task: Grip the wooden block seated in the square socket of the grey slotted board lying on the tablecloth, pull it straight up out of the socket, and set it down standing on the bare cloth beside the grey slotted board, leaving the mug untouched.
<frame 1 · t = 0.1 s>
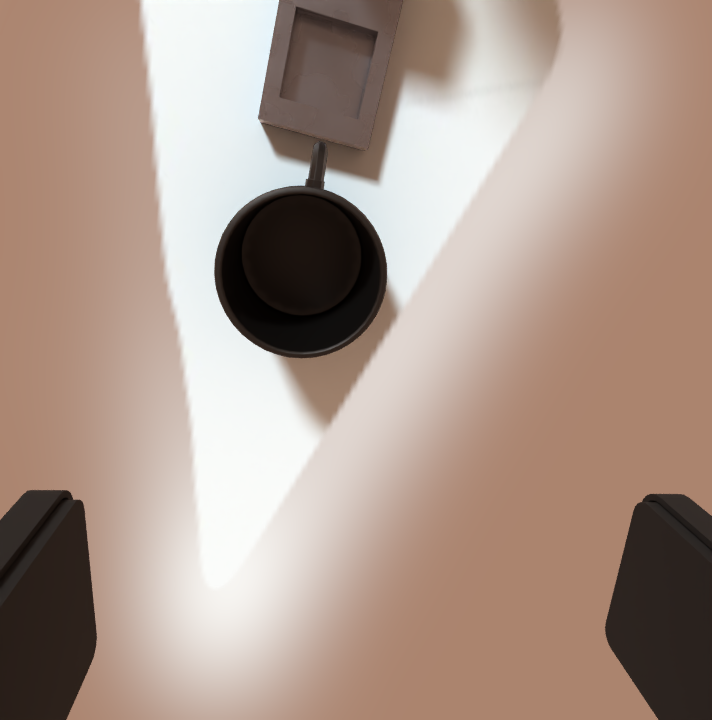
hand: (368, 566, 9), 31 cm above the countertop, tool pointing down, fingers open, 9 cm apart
mug: (305, 237, 38), on the countertop
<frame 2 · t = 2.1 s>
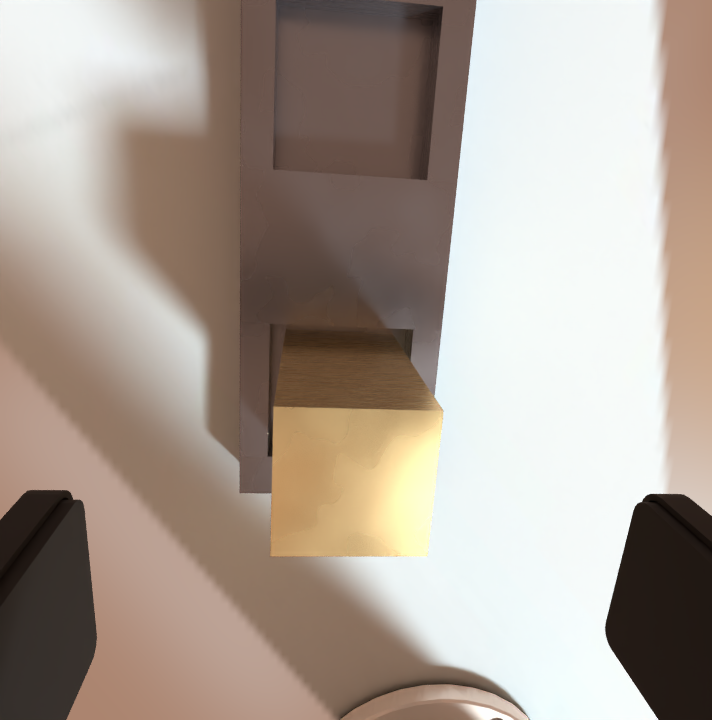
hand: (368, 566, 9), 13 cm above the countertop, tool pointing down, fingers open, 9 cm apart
grey slotted board: (342, 248, 20), on the countertop
wooden block: (336, 382, 21), point 1 cm above the countertop, touching grey slotted board
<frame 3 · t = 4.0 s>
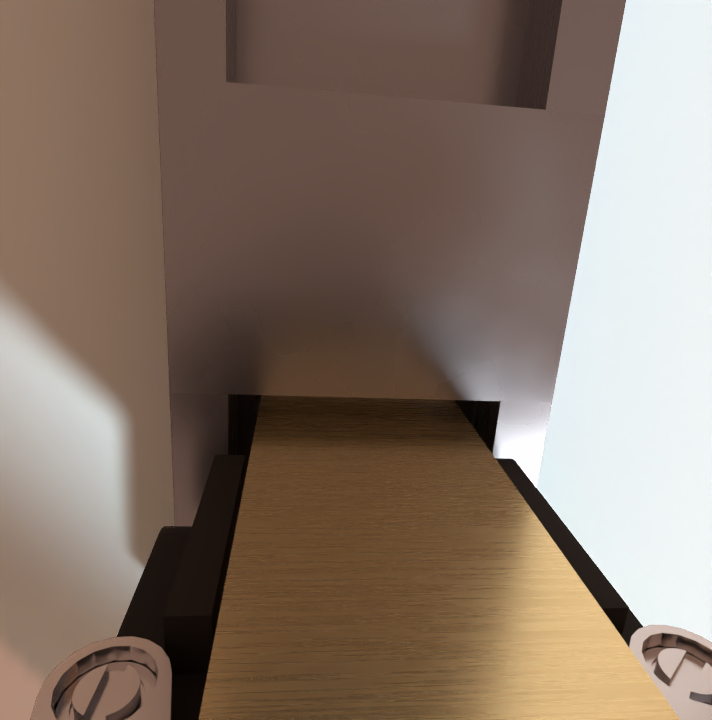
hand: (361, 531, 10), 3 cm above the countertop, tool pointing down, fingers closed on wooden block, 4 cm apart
grey slotted board: (365, 246, 11), on the countertop
wooden block: (353, 480, 12), point 1 cm above the countertop, touching gripper, grey slotted board
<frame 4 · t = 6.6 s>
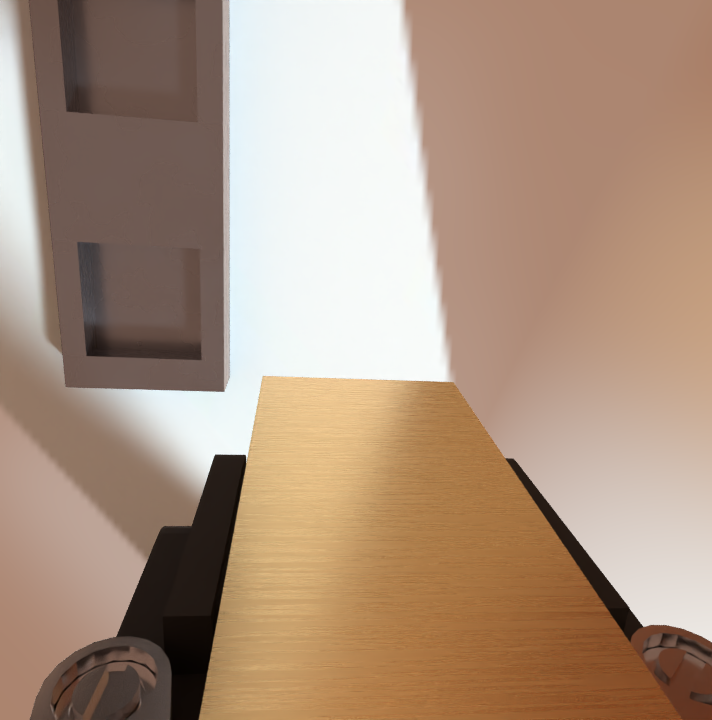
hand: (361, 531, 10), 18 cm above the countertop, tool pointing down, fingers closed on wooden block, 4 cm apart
grey slotted board: (149, 183, 24), on the countertop
wooden block: (353, 463, 12), point 15 cm above the countertop, touching gripper
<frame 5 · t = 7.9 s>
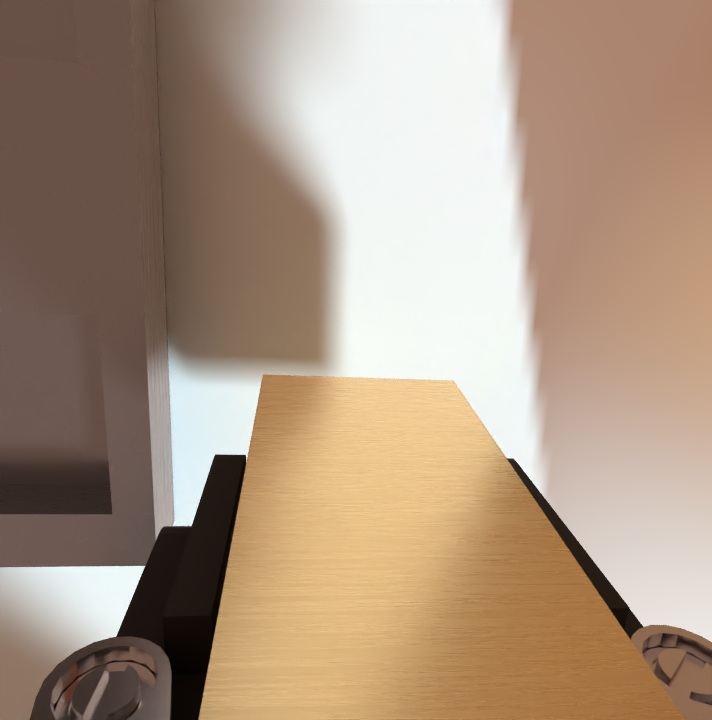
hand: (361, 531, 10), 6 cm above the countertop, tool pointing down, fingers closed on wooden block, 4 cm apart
grey slotted board: (9, 189, 13), on the countertop
wooden block: (353, 461, 12), point 3 cm above the countertop, touching gripper
when the fingers open (3 cm above the countertop, at t = 9.0 s): wooden block stays where it is, on the countertop.
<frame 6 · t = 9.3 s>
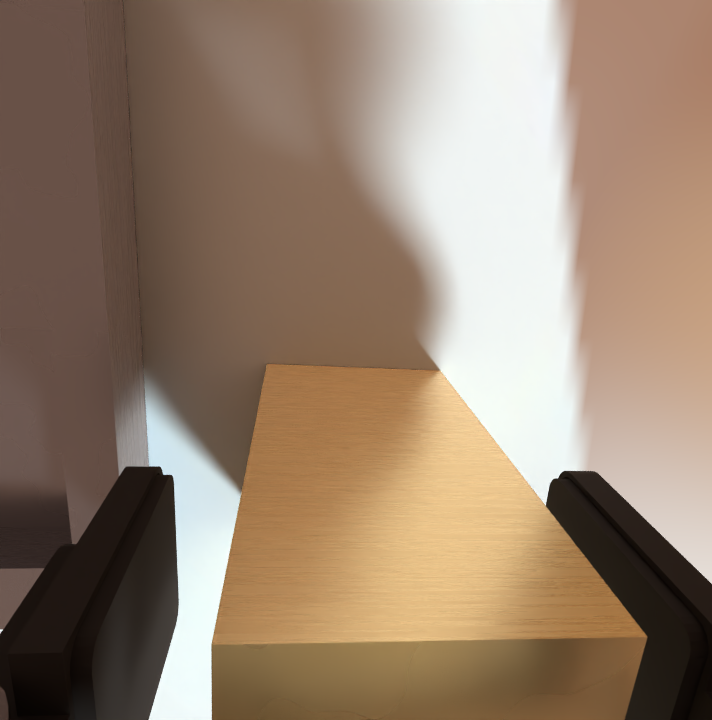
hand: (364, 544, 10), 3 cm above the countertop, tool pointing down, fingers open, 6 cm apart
wooden block: (349, 446, 13), on the countertop
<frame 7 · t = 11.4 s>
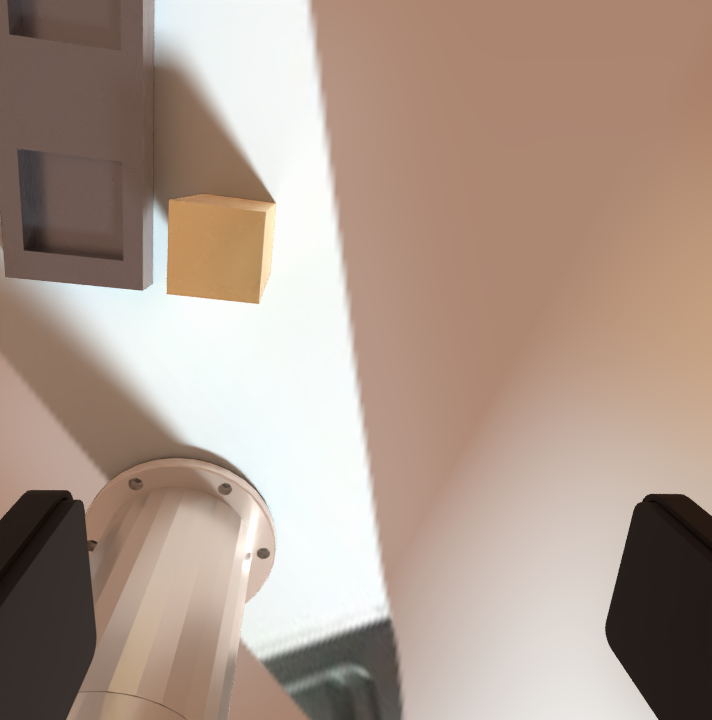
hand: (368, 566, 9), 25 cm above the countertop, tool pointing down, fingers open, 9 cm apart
grey slotted board: (84, 105, 28), on the countertop
wooden block: (237, 234, 31), on the countertop
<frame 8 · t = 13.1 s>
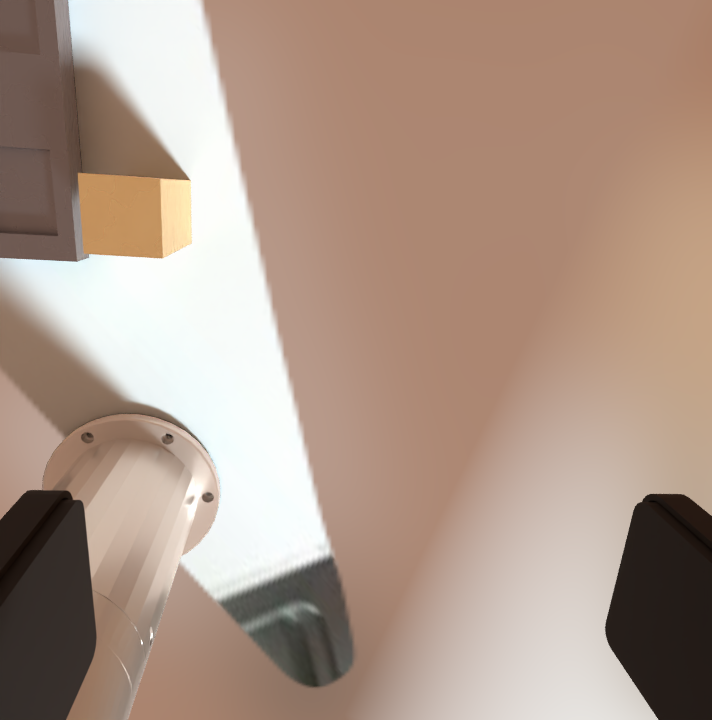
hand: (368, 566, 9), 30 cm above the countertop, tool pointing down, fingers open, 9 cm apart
grey slotted board: (16, 104, 33), on the countertop
wooden block: (159, 210, 36), on the countertop
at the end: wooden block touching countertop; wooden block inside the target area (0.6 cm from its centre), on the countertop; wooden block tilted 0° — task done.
